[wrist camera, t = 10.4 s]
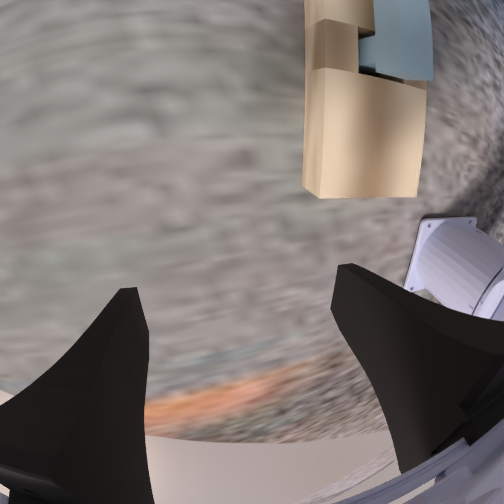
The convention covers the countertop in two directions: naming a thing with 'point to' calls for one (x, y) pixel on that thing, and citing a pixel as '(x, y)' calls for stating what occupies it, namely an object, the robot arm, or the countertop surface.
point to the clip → (399, 41)
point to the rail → (356, 111)
